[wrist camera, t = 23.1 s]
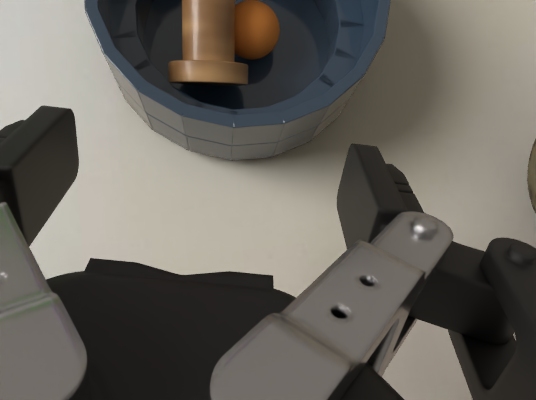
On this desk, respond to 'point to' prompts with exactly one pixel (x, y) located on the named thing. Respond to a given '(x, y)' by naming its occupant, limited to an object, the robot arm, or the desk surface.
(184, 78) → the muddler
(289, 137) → the bowl
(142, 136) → the desk surface
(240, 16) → the ball
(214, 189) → the desk surface
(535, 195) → the decorative egg
